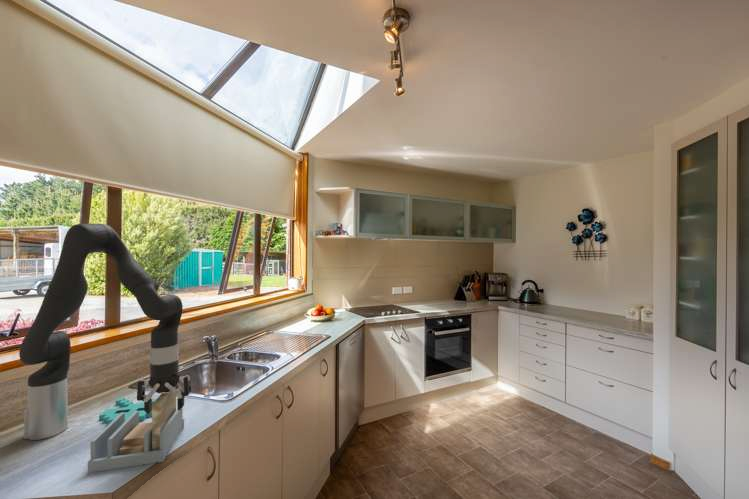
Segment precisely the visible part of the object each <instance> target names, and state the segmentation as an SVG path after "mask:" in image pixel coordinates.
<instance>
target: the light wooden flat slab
mask: <svg viewBox="0 0 749 499" xmlns="http://www.w3.org/2000/svg"><path fill="white" fill-rule="evenodd" d="M155 399H156V400H155V402H154V403H153V404H152V417H151V419H152V420H151V422H152V451H156V450H160V432H161V430H162V429H163V428H164V426H165V425H166V424H167V422H168V421H169V419H170V418H171V417H172V415H173V414H174V413H175V411H176V410H177V396H176V395H175V394H173V393H172V392H171V391H170V392H162V393H160V395H159V396H158V397H157V398H155Z"/></svg>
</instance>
